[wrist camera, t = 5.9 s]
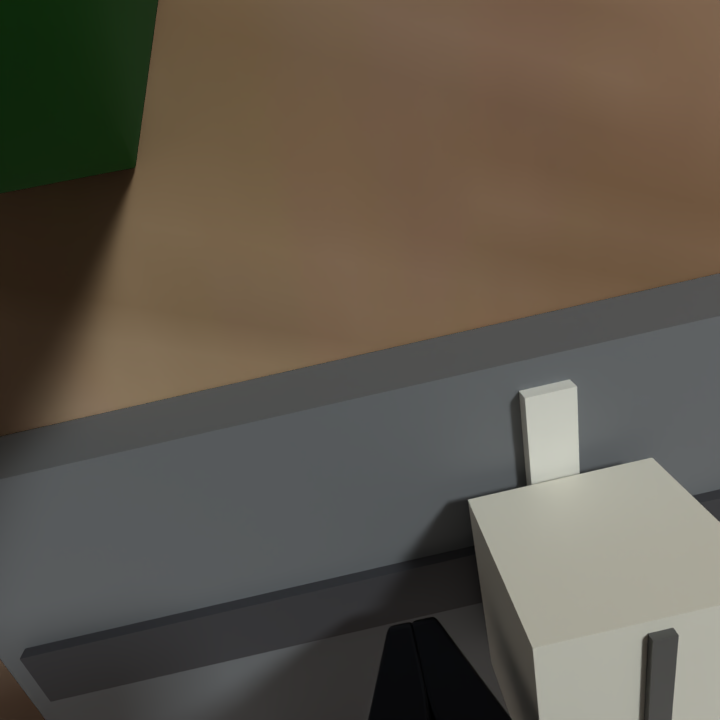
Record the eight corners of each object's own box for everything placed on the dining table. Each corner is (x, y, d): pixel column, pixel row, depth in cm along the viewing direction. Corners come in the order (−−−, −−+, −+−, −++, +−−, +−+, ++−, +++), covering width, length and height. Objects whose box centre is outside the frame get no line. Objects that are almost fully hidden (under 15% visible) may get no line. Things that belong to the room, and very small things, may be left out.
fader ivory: (644, 627, 10) (754, 790, 8) (491, 662, 10) (552, 837, 8) (651, 457, 8) (796, 596, 6) (467, 499, 8) (536, 656, 6)
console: (680, 757, 16) (723, 829, 14) (216, 865, 15) (206, 949, 14) (729, 271, 9) (816, 302, 8) (-54, 448, 9) (-128, 516, 8)
